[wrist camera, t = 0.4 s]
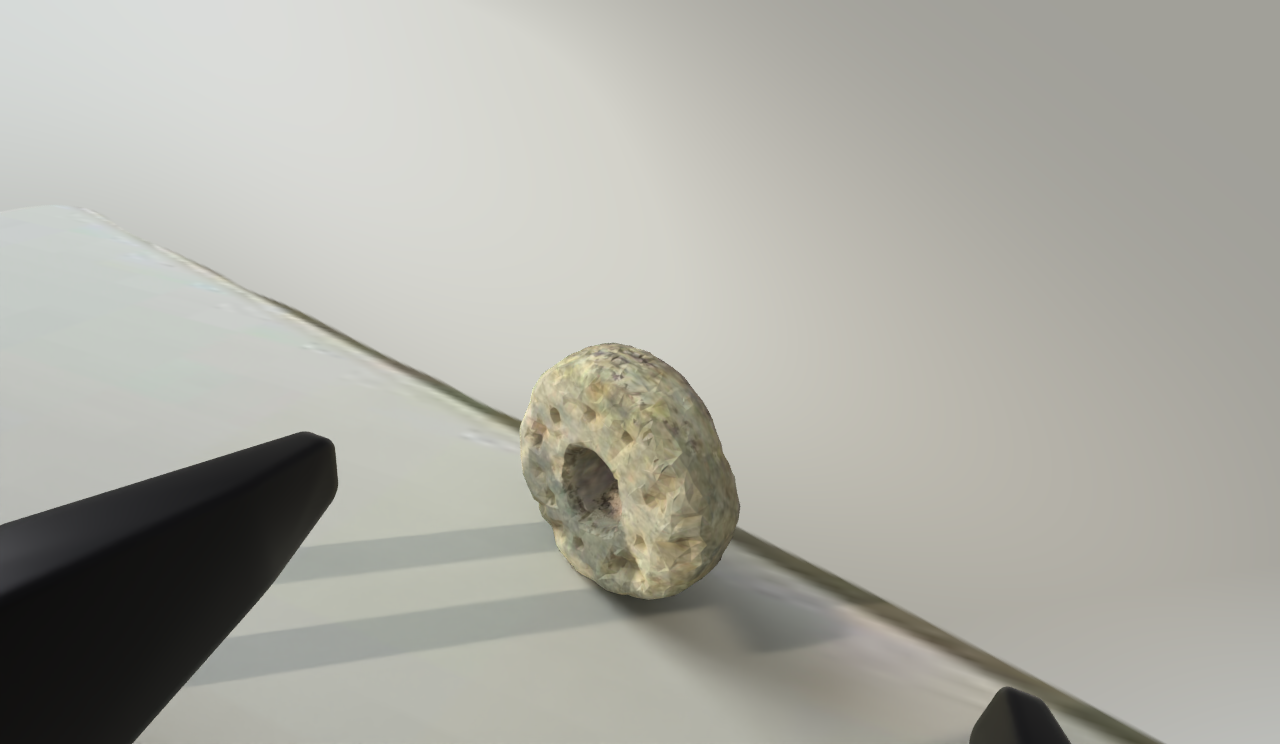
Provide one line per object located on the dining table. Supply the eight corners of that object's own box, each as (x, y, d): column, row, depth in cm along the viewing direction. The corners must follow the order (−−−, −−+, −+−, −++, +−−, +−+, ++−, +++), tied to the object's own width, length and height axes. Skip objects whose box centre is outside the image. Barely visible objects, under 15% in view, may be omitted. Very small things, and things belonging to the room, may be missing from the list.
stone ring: (504, 503, 33) (516, 311, 28) (567, 475, 35) (590, 292, 30) (652, 667, 27) (705, 464, 22) (717, 621, 29) (779, 426, 24)
